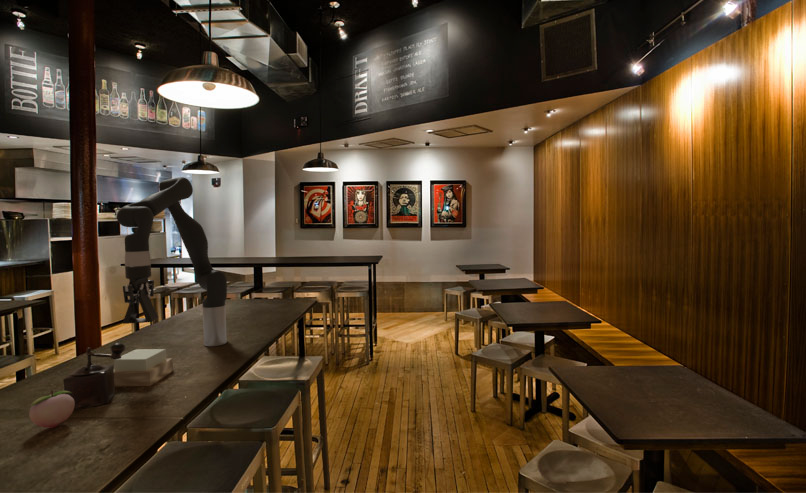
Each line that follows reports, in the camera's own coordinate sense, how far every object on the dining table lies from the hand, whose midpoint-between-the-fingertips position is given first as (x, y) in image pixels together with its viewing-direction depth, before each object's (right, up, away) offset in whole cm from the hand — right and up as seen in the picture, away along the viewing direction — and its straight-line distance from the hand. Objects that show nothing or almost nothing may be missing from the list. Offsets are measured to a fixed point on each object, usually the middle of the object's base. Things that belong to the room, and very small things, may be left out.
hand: (140, 311), depth 142 cm
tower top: (0, -19, +1) cm, 19 cm away
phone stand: (0, -3, 0) cm, 3 cm away
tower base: (0, -24, +1) cm, 24 cm away
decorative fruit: (-1, -26, -34) cm, 42 cm away
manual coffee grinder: (-1, -25, -17) cm, 30 cm away
